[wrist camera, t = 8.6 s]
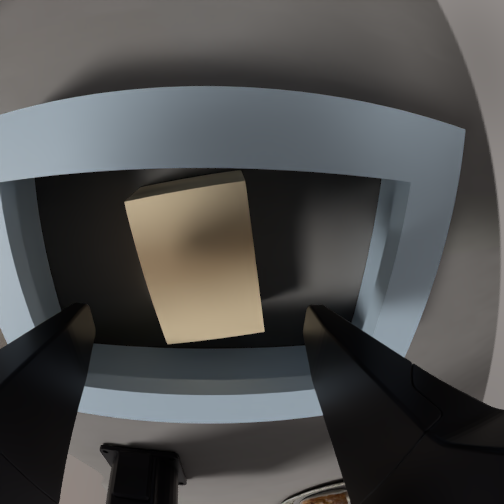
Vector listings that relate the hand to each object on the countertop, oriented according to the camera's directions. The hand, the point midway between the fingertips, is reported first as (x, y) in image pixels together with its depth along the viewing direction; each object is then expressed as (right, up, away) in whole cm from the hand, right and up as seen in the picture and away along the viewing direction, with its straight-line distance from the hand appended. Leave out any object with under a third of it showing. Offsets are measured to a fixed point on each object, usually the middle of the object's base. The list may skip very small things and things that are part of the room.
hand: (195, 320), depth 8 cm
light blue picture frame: (0, +2, +4) cm, 5 cm away
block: (-1, +2, +5) cm, 5 cm away
